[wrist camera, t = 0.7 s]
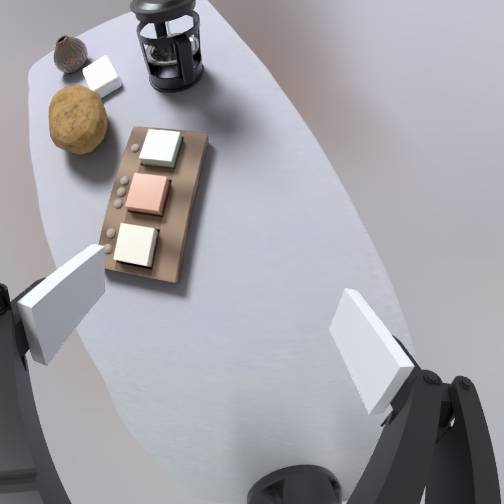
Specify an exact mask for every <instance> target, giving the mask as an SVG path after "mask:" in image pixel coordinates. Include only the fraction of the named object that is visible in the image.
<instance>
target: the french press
mask: <svg viewBox="0 0 504 504" xmlns="http://www.w3.org/2000/svg"><path fill="white" fill-rule="evenodd" d="M195 4H196V3H195V0H133V1H132V3H131V4H130V8H131V11H132V12H133V13H135V15H136V18H137V19H138V20H139V21H141V22H140V23H139V25H138V26H137V35H138V39H139V42H140V46H141V49H142V53H143V56H144V60H145V63H146V66H147V70H148V73H149V81H150V84H151V85H152V86H153V88H155V89H156V90H159V91H161V92H170V93H171V92H179V91H183V90H185V89H188V88H190V87H192V86H193V85H195V84H196V83H197V82H198V81H199V80H200V79H201V77H202V75H203V70H204V68H203V65H202V58H201V51H200V33H199V26H200V19H199V15H198V14H197V13H196V12H195V11H193V9H194V7H195ZM184 15H188V16H191V17H193V25H194V26H193V27H192V28H191V29H189V30H188V31H186V32H184V33H175V34H171V33H170V27H169V21H171V20H174V19H177V18H180V17H182V16H184ZM165 22H166V24H167V30H168V35H167V31H166V25H165ZM148 23H154V26H155V30H156V35H157V39H149V38H145V37H143V36H141V35H140V31H141V30H142V29H143V27H144V26H145V25H147V24H148ZM193 34H194V36H192V35H193ZM143 44H145V45H149V46H148V47H147V49H146V52H145V48H144V45H143ZM174 65H177V66H178V72H179V77H175V78H160V77H156V75H157V72H158V70H159V69H160V68H161V67H162V66H174ZM194 65H195V68H194Z"/></svg>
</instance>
